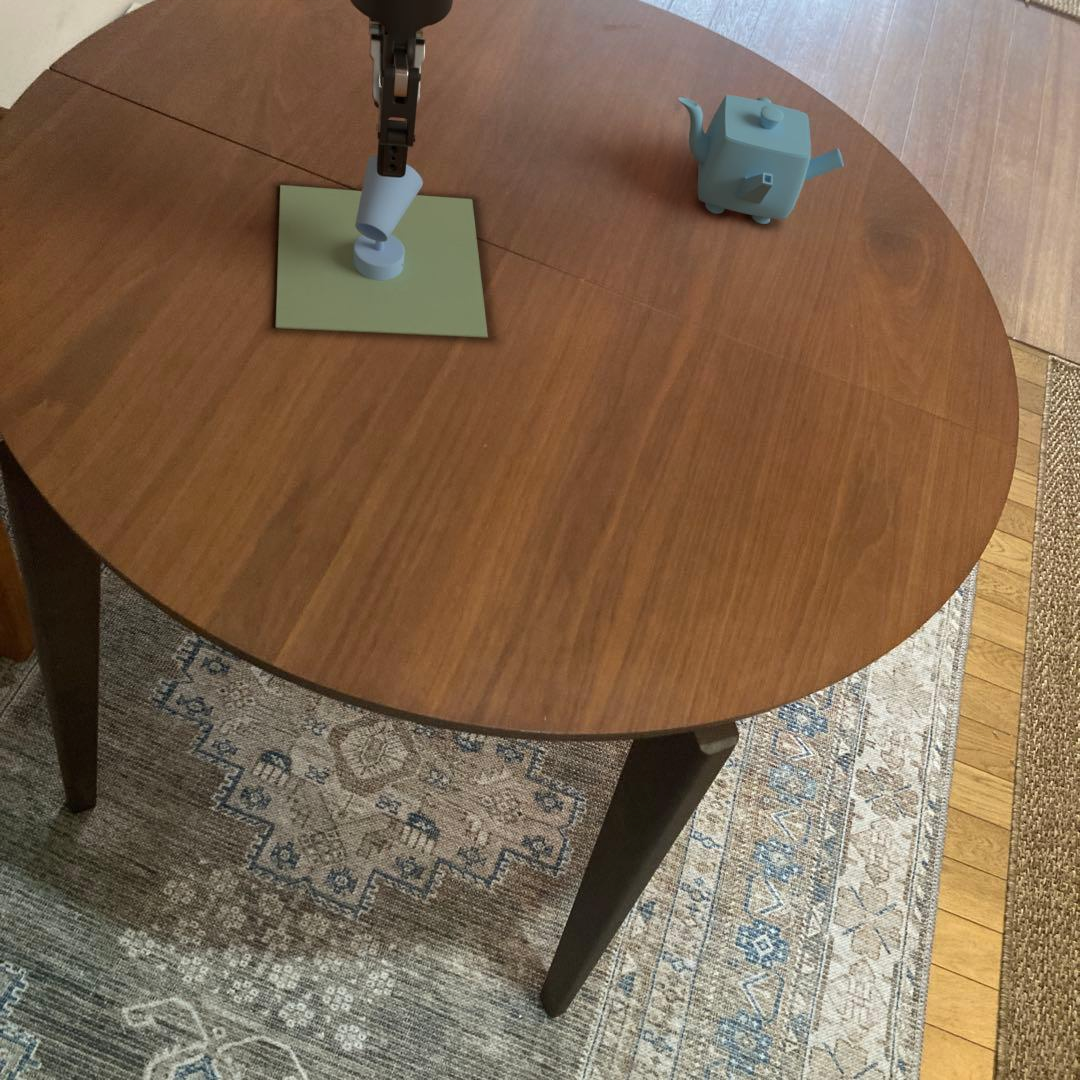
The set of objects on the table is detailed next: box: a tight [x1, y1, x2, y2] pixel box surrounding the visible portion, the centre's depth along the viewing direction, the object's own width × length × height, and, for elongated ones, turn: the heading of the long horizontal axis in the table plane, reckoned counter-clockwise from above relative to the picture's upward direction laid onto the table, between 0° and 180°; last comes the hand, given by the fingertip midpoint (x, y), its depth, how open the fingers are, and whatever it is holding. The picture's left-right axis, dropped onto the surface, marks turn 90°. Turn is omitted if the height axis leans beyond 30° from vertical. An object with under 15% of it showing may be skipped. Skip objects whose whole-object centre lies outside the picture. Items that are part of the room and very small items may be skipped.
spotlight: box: [353, 154, 424, 280], centre depth 89 cm, size 5×10×7 cm
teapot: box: [678, 94, 845, 225], centre depth 104 cm, size 18×14×10 cm
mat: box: [275, 184, 489, 339], centre depth 94 cm, size 18×18×1 cm
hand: (388, 139), depth 83 cm, fingers open, 8 cm apart
